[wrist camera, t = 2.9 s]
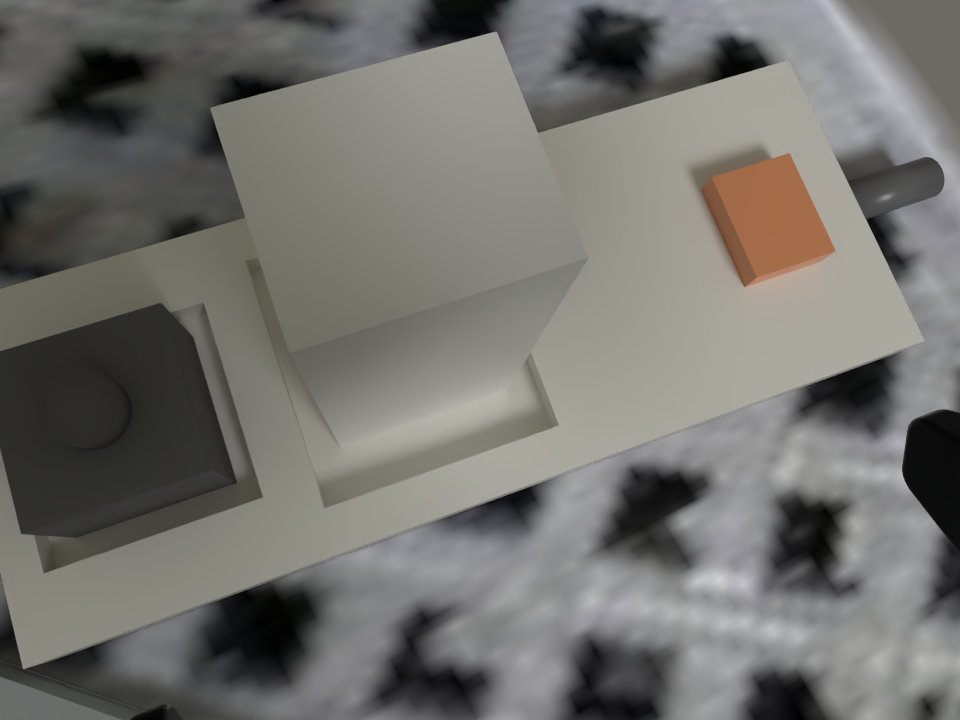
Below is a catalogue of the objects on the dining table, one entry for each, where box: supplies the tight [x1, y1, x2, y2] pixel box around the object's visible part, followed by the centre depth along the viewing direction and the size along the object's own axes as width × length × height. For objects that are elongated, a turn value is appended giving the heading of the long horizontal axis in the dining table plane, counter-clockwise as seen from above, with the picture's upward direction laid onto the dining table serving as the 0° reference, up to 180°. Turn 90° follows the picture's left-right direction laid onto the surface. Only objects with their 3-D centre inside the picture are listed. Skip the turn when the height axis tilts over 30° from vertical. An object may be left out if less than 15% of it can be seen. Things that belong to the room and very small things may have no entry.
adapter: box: [210, 32, 589, 447], centre depth 17 cm, size 4×5×10 cm
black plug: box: [0, 303, 237, 538], centre depth 19 cm, size 4×4×4 cm
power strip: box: [0, 60, 944, 669], centre depth 22 cm, size 27×9×2 cm, turn 110°
